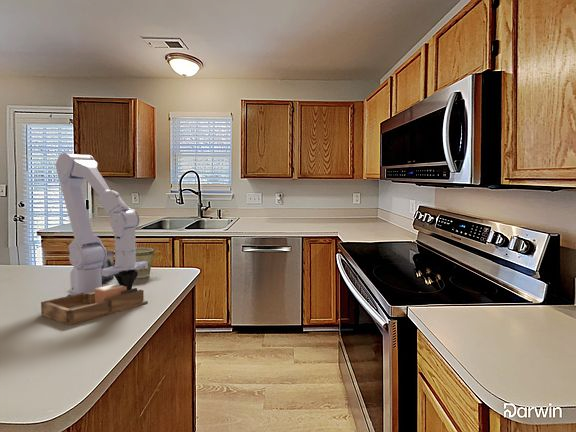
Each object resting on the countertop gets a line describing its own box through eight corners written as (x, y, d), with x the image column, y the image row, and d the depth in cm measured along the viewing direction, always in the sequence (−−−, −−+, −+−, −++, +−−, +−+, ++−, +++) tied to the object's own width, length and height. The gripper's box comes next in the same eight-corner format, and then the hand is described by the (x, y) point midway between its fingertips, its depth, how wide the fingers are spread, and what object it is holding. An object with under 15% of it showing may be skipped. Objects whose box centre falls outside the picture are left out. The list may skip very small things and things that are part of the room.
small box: (97, 285, 151) (96, 255, 150) (80, 284, 152) (79, 254, 151) (115, 278, 161) (114, 250, 160) (99, 277, 162) (98, 249, 161)
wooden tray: (41, 315, 119) (40, 299, 118) (119, 295, 138) (119, 282, 138) (69, 325, 111) (68, 308, 111) (147, 303, 131) (147, 288, 131)
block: (94, 304, 127) (94, 288, 126) (116, 298, 133) (116, 283, 132) (105, 307, 124) (105, 290, 124) (126, 301, 130) (126, 285, 129)
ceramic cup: (128, 280, 158) (127, 253, 157) (123, 275, 167) (123, 248, 166) (165, 277, 165) (164, 250, 164) (158, 271, 173) (158, 246, 172)
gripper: (112, 255, 123) (113, 303, 124) (154, 249, 135) (154, 292, 136) (96, 253, 127) (98, 299, 128) (139, 246, 139) (139, 289, 140)
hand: (126, 295), depth 133 cm, fingers closed
